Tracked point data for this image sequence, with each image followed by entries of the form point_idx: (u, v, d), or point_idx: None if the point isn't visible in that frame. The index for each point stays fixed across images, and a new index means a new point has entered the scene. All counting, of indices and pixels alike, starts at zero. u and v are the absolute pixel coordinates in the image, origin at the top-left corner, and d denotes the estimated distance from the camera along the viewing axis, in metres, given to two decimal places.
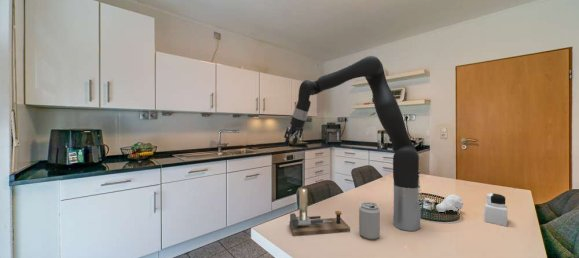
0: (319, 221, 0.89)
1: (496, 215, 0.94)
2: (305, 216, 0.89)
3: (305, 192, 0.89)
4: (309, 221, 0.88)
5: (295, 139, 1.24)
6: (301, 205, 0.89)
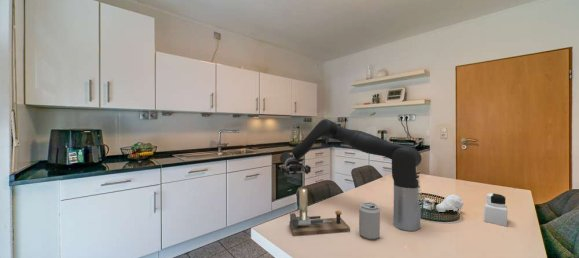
0: (319, 221, 0.89)
1: (496, 215, 0.94)
2: (305, 216, 0.89)
3: (305, 192, 0.89)
4: (309, 221, 0.88)
5: (305, 170, 1.05)
6: (301, 205, 0.89)
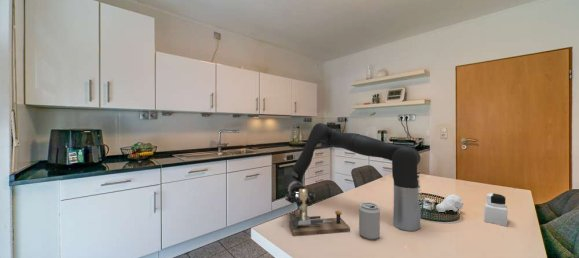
0: (319, 221, 0.89)
1: (496, 215, 0.94)
2: (305, 216, 0.89)
3: (305, 192, 0.89)
4: (309, 221, 0.88)
5: (307, 200, 0.91)
6: (301, 205, 0.89)
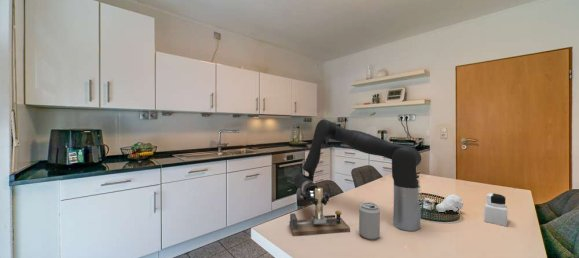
0: (334, 220, 0.90)
1: (496, 215, 0.94)
2: (321, 215, 0.90)
3: (321, 191, 0.90)
4: (325, 220, 0.89)
5: None
6: (317, 204, 0.90)
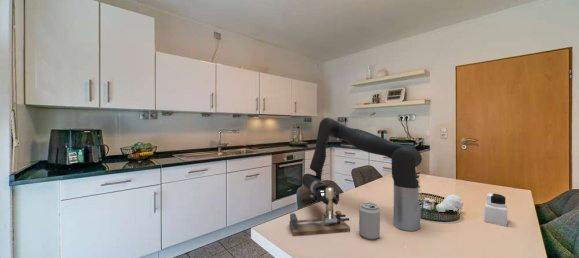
0: (345, 219, 0.91)
1: (496, 215, 0.94)
2: (331, 214, 0.91)
3: (331, 191, 0.90)
4: (336, 219, 0.90)
5: (333, 199, 0.92)
6: (328, 203, 0.91)
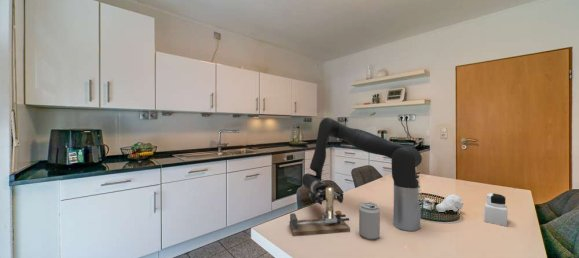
0: (345, 219, 0.91)
1: (496, 215, 0.94)
2: (332, 214, 0.91)
3: (332, 191, 0.90)
4: (336, 219, 0.90)
5: (337, 198, 0.94)
6: (328, 203, 0.91)
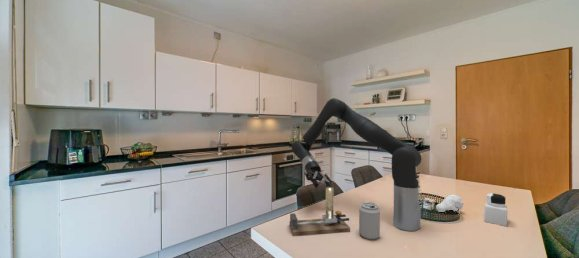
0: (345, 219, 0.91)
1: (496, 215, 0.94)
2: (332, 214, 0.91)
3: (332, 191, 0.90)
4: (336, 219, 0.90)
5: (327, 184, 1.08)
6: (328, 203, 0.91)
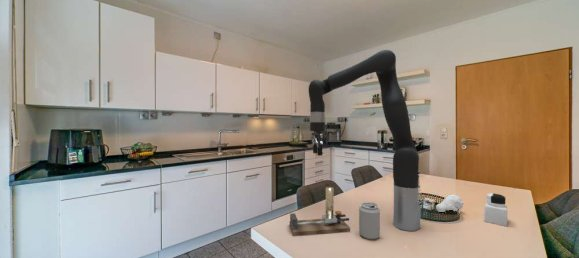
0: (345, 219, 0.91)
1: (496, 215, 0.94)
2: (332, 214, 0.91)
3: (332, 191, 0.90)
4: (336, 219, 0.90)
5: (315, 146, 1.13)
6: (328, 203, 0.91)
